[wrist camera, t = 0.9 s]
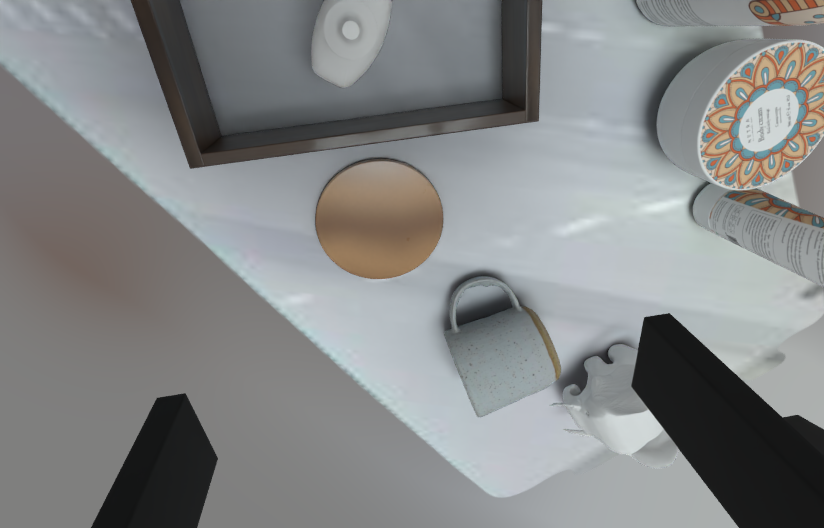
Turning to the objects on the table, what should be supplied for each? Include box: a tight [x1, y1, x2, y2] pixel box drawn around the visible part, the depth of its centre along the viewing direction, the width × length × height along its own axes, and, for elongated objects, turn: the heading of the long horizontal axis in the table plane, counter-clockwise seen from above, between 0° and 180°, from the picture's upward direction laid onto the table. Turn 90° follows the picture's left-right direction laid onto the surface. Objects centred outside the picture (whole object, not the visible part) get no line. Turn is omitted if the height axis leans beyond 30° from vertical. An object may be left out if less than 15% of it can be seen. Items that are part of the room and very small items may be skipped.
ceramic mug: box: [444, 276, 561, 417], centre depth 38 cm, size 11×8×8 cm
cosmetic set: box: [636, 0, 824, 287], centre depth 25 cm, size 25×9×19 cm, turn 27°
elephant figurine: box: [549, 344, 678, 468], centre depth 42 cm, size 10×12×9 cm
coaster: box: [315, 159, 443, 279], centre depth 35 cm, size 10×10×1 cm
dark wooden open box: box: [131, 0, 542, 168], centre depth 27 cm, size 13×22×5 cm, turn 96°
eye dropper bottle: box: [311, 0, 392, 88], centre depth 23 cm, size 4×6×12 cm
